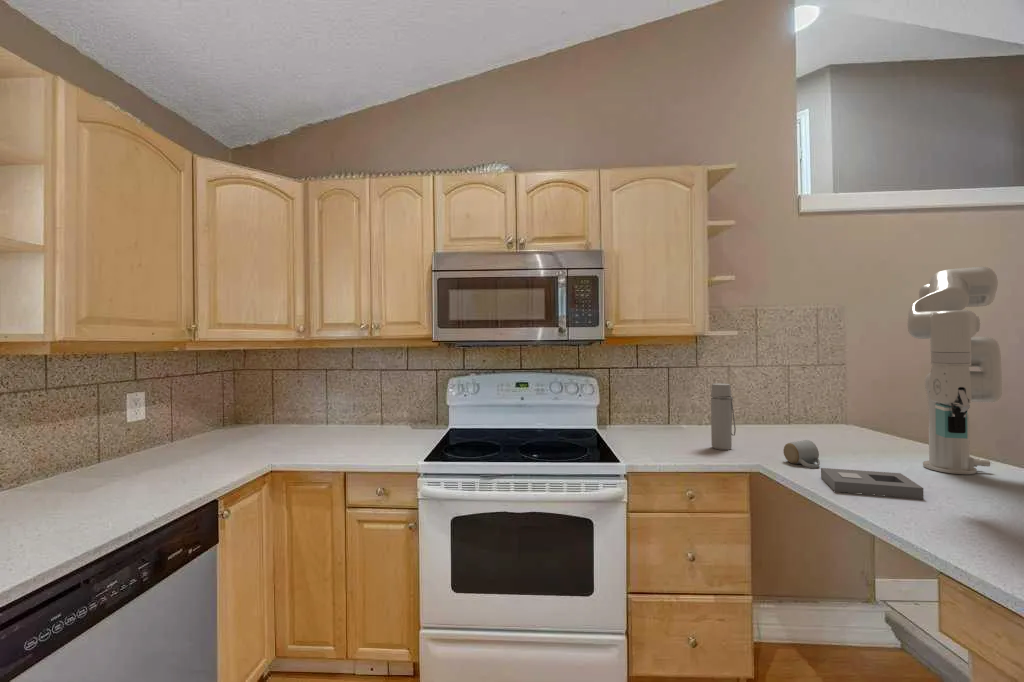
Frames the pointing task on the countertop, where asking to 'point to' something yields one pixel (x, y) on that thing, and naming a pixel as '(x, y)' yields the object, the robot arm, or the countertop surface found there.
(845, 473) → the block
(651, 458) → the countertop surface
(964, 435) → the block
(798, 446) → the ceramic mug
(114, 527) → the countertop surface
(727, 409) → the water bottle
